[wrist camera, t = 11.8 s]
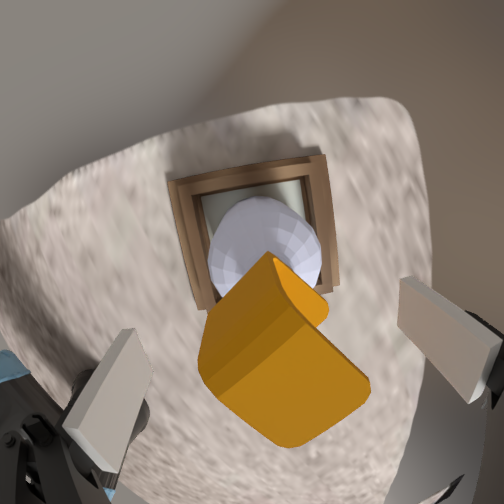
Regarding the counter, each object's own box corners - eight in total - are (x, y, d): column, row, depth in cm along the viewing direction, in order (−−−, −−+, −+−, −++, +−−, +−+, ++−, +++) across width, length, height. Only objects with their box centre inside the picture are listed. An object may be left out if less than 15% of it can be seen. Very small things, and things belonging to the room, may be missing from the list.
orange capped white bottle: (261, 288, 33) (292, 488, 9) (202, 238, 31) (107, 407, 7) (314, 233, 31) (459, 372, 7) (255, 178, 29) (309, 191, 6)
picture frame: (199, 306, 34) (194, 322, 31) (169, 181, 30) (159, 182, 26) (337, 282, 34) (347, 294, 30) (322, 154, 30) (333, 152, 26)
